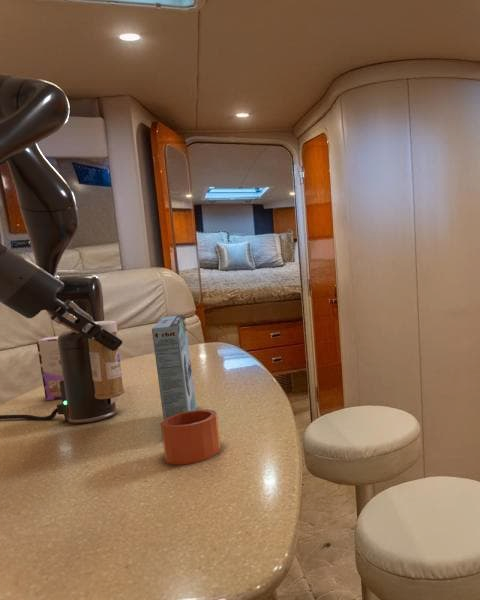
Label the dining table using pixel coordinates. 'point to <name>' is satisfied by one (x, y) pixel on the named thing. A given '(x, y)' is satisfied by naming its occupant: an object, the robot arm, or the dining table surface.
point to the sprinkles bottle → (105, 365)
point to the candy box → (50, 366)
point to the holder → (190, 436)
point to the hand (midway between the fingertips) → (116, 344)
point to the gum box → (173, 365)
